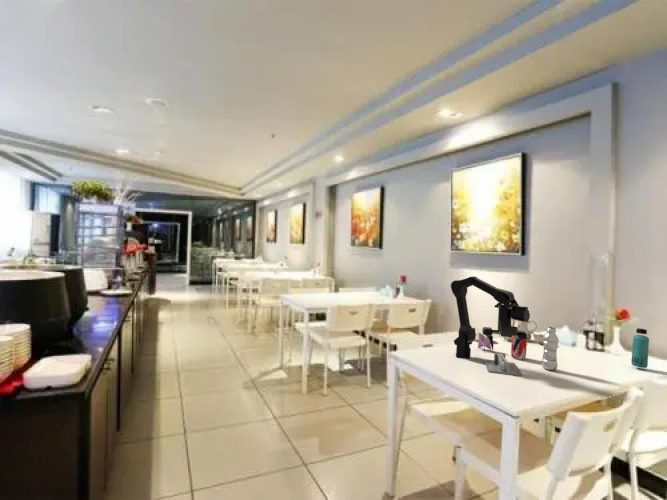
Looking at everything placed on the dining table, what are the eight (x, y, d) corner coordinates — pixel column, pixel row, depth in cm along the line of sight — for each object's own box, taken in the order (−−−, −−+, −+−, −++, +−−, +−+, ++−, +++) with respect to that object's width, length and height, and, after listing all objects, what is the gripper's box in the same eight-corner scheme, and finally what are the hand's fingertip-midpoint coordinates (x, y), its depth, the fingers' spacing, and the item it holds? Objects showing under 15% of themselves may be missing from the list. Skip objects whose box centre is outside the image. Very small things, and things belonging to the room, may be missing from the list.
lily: (501, 355, 207) (500, 337, 211) (489, 349, 201) (489, 331, 205) (480, 356, 215) (480, 339, 220) (469, 350, 209) (468, 333, 214)
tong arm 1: (497, 368, 177) (497, 360, 177) (494, 360, 189) (494, 352, 189) (502, 369, 176) (503, 360, 176) (498, 361, 188) (499, 353, 188)
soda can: (527, 361, 194) (528, 337, 194) (512, 359, 196) (513, 336, 195) (523, 357, 201) (524, 334, 201) (509, 355, 202) (510, 333, 202)
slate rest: (488, 372, 174) (488, 361, 174) (483, 360, 192) (484, 350, 191) (521, 376, 171) (522, 365, 170) (514, 364, 188) (514, 354, 188)
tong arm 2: (504, 369, 176) (504, 360, 176) (498, 361, 188) (499, 353, 188) (509, 370, 176) (509, 361, 176) (503, 362, 188) (504, 354, 188)
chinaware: (502, 345, 230) (504, 318, 228) (495, 335, 246) (497, 310, 244) (552, 349, 226) (555, 322, 224) (541, 339, 242) (544, 314, 240)
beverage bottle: (644, 367, 191) (646, 328, 191) (650, 371, 185) (652, 330, 184) (628, 365, 193) (631, 326, 193) (634, 369, 187) (636, 329, 187)
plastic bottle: (551, 372, 177) (554, 329, 177) (538, 368, 183) (540, 326, 183) (560, 371, 180) (562, 328, 180) (546, 366, 186) (548, 325, 186)
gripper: (485, 319, 175) (483, 353, 175) (530, 323, 170) (528, 358, 170) (482, 315, 186) (481, 347, 186) (524, 318, 181) (523, 351, 181)
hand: (503, 350), depth 181 cm, fingers open, 9 cm apart
